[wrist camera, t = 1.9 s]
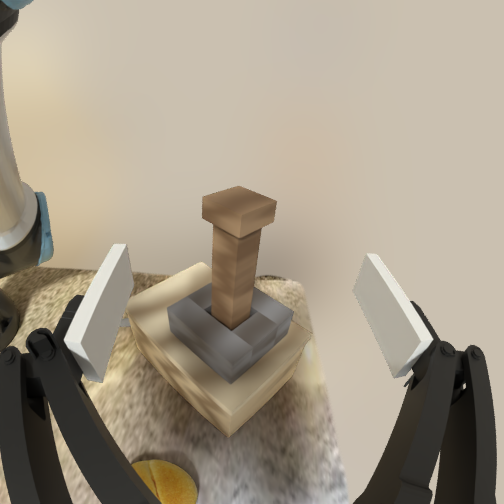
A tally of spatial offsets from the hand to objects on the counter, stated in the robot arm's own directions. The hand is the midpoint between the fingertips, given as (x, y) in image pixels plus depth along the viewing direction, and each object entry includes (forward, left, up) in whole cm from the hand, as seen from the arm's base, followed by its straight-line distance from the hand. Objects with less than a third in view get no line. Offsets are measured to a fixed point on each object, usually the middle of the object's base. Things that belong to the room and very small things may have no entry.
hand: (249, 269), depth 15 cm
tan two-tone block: (-10, +7, -27) cm, 30 cm away
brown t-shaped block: (-7, +7, -17) cm, 20 cm away
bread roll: (0, -12, -28) cm, 30 cm away
